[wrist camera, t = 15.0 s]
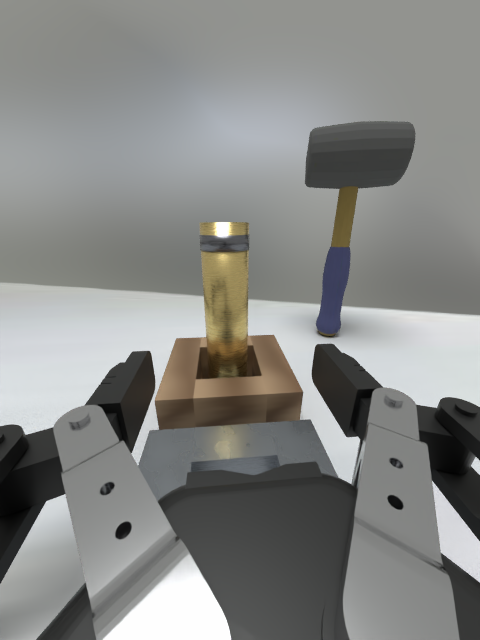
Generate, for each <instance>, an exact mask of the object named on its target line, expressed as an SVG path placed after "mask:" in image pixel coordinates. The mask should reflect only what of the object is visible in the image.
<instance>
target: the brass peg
mask: <svg viewBox="0 0 480 640" xmlns="http://www.w3.org/2000/svg"><path fill="white" fill-rule="evenodd" d="M200 248H201V255H202V272H203V287H204V305H205V322H206V338H207V355H208V371H209V379H215V378H234V377H247V349H248V251H249V223H243V222H242V223H241V222H239V223H237V222H233V223H231V222H230V223H229V222H222V223H221V222H218V223H200Z"/></svg>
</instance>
